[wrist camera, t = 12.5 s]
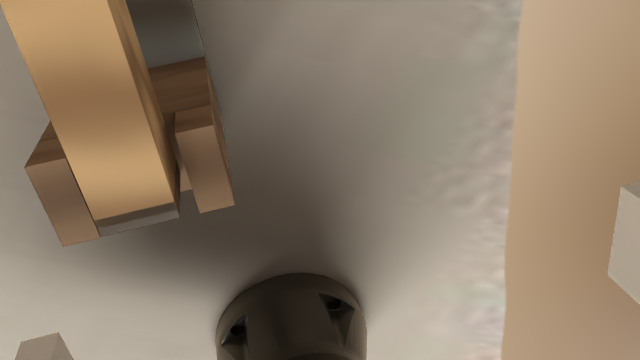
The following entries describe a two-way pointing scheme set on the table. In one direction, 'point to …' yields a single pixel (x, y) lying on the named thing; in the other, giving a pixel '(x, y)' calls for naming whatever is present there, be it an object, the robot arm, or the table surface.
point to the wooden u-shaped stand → (178, 114)
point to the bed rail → (100, 107)
